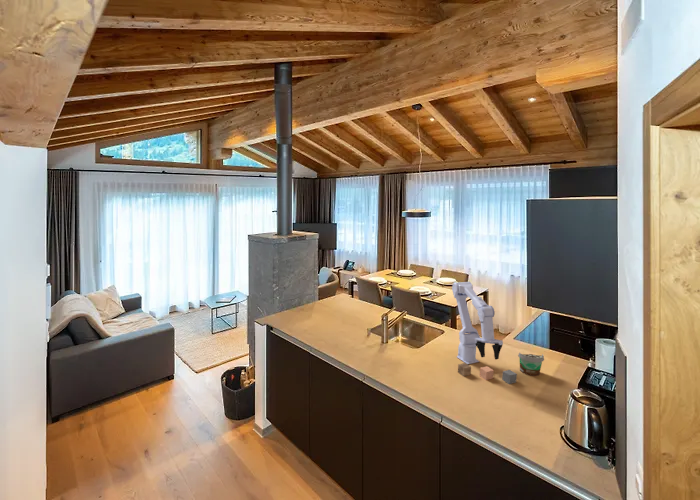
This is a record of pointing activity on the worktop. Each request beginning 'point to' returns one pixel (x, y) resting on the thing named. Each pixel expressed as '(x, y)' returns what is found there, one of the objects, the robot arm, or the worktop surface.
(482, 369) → the terracotta block
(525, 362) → the food container
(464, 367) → the walnut block
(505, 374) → the charcoal block
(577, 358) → the worktop surface
